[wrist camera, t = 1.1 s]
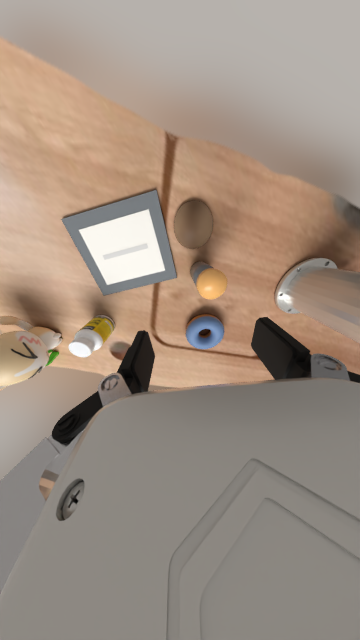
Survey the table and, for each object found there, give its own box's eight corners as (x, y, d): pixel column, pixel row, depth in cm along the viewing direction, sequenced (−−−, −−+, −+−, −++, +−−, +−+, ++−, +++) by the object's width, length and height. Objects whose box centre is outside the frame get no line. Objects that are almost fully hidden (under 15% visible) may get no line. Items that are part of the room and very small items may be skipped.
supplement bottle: (107, 311, 31) (82, 335, 23) (119, 328, 34) (100, 356, 26) (88, 317, 32) (57, 343, 24) (101, 334, 35) (78, 362, 26)
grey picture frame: (156, 190, 21) (156, 189, 20) (176, 277, 28) (176, 277, 27) (63, 219, 22) (60, 219, 22) (104, 294, 29) (103, 295, 29)
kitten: (74, 357, 39) (23, 414, 26) (37, 352, 37) (-37, 409, 24) (64, 315, 32) (-13, 363, 19) (17, 307, 30) (-102, 353, 17)
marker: (207, 259, 26) (226, 266, 17) (210, 279, 28) (227, 295, 19) (188, 263, 26) (195, 273, 17) (191, 283, 28) (200, 301, 19)
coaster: (210, 196, 21) (210, 194, 21) (213, 243, 25) (214, 243, 24) (169, 207, 22) (169, 207, 21) (178, 252, 25) (178, 252, 25)
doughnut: (206, 348, 38) (210, 358, 34) (178, 333, 36) (178, 342, 32) (227, 322, 35) (235, 330, 31) (198, 304, 33) (201, 310, 28)
